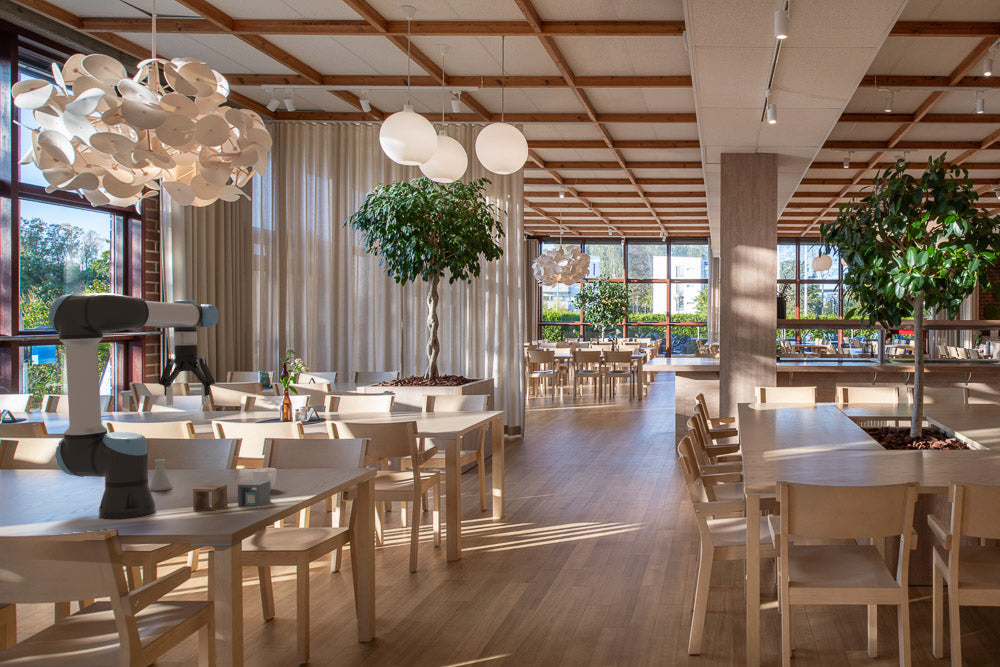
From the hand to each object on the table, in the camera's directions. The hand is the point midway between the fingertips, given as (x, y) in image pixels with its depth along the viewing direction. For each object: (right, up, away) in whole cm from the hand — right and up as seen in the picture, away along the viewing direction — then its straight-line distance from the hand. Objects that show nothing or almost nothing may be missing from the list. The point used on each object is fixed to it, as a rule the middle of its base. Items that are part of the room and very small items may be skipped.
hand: (187, 405), depth 304 cm
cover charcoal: (+34, -27, -39) cm, 58 cm away
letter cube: (+34, -27, -39) cm, 58 cm away
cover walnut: (+23, -27, -44) cm, 57 cm away
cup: (+32, -27, -18) cm, 45 cm away
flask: (-5, -28, -12) cm, 30 cm away
